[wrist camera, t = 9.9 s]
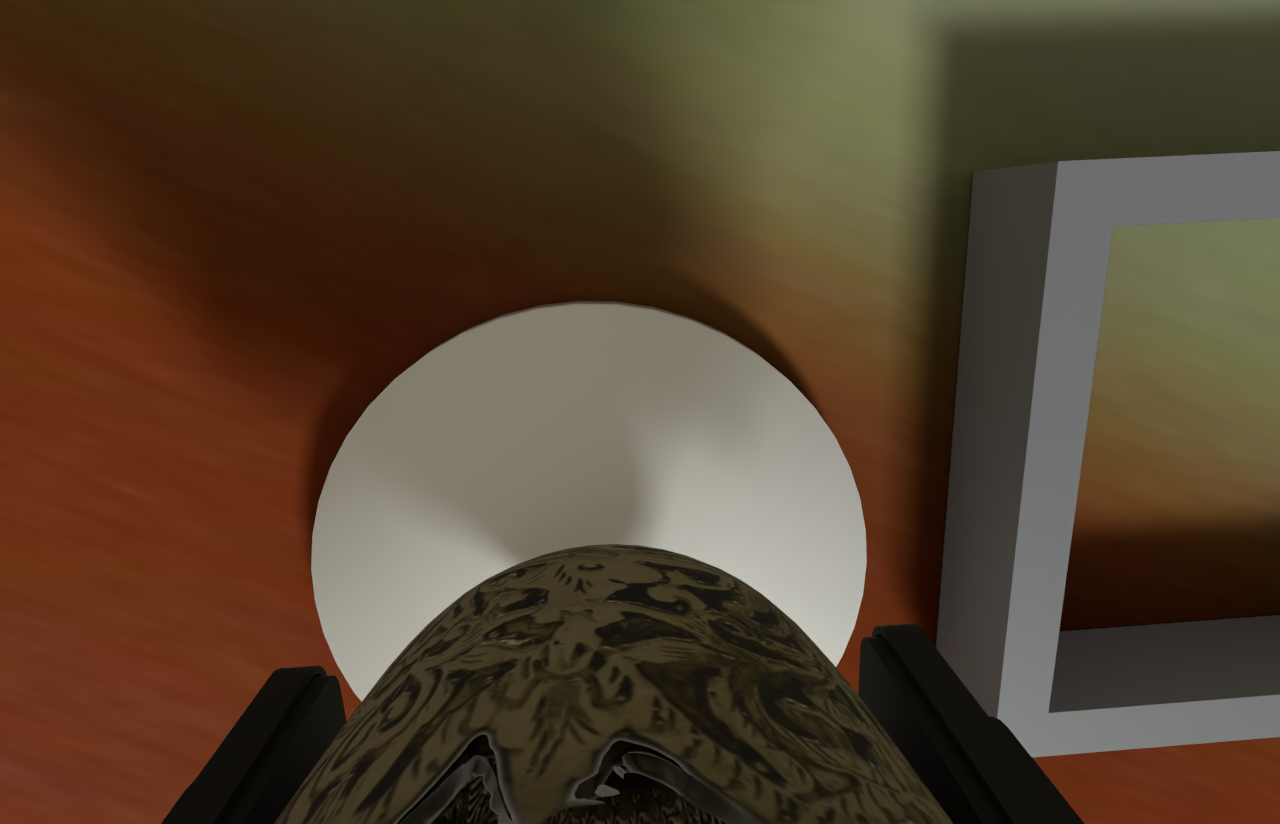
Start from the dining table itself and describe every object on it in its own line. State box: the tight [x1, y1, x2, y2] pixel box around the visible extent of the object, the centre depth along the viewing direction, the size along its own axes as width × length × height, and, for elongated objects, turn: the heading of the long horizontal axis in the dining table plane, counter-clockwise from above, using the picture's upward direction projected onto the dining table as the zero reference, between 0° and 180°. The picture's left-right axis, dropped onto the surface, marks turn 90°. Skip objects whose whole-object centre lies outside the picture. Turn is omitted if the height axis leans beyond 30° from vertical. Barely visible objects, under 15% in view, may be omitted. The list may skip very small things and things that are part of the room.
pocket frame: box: [936, 151, 1280, 757], centre depth 14 cm, size 11×11×2 cm
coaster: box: [311, 301, 867, 701], centre depth 14 cm, size 11×11×1 cm
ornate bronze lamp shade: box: [274, 544, 953, 824], centre depth 9 cm, size 8×7×8 cm
